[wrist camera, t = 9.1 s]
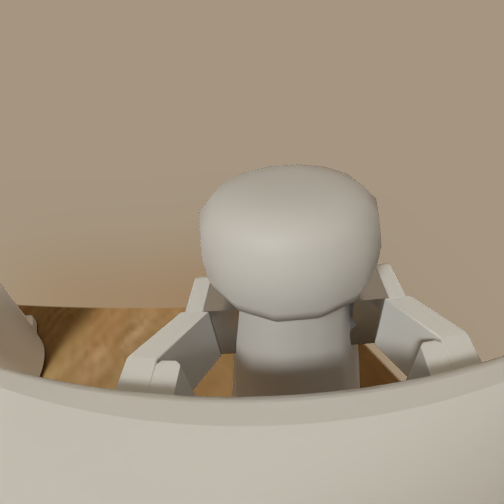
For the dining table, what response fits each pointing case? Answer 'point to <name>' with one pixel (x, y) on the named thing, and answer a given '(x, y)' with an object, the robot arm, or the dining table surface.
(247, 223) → the salt shaker
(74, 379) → the dining table surface
